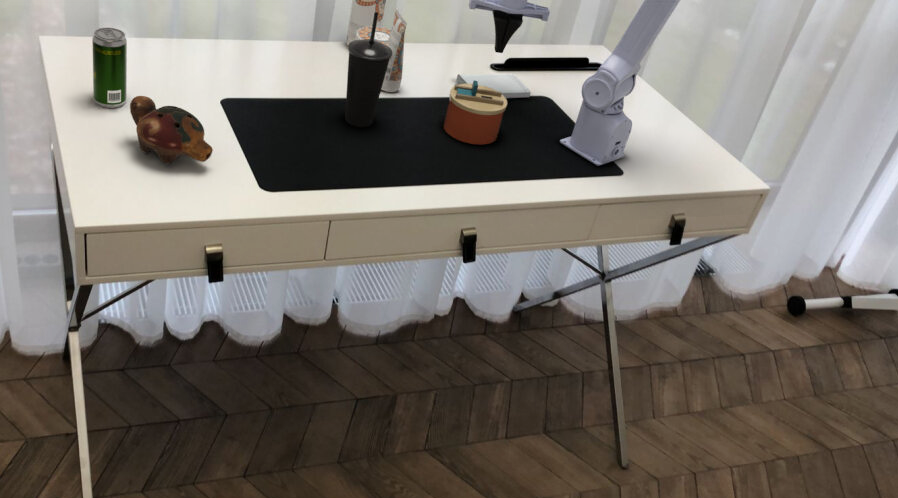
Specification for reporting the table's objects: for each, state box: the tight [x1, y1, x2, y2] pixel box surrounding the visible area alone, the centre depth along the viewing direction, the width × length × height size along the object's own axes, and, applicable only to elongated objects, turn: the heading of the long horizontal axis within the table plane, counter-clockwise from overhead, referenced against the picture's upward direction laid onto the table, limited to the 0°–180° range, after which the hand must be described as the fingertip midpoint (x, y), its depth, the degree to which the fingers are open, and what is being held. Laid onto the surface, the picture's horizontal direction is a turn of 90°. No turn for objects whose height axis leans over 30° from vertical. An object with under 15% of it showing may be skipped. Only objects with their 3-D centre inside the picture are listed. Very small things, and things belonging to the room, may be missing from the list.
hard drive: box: [456, 73, 532, 99], centre depth 192 cm, size 2×8×12 cm
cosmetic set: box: [346, 0, 408, 93], centre depth 187 cm, size 25×9×19 cm, turn 18°
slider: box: [457, 81, 478, 96], centre depth 172 cm, size 3×2×2 cm
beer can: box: [91, 27, 128, 109], centre depth 161 cm, size 5×5×12 cm
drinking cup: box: [344, 12, 393, 128], centre depth 167 cm, size 8×8×20 cm
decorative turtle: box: [129, 95, 214, 165], centre depth 152 cm, size 10×15×8 cm, turn 68°
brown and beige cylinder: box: [443, 83, 508, 146], centre depth 175 cm, size 10×10×8 cm
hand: (498, 50), depth 182 cm, fingers closed
